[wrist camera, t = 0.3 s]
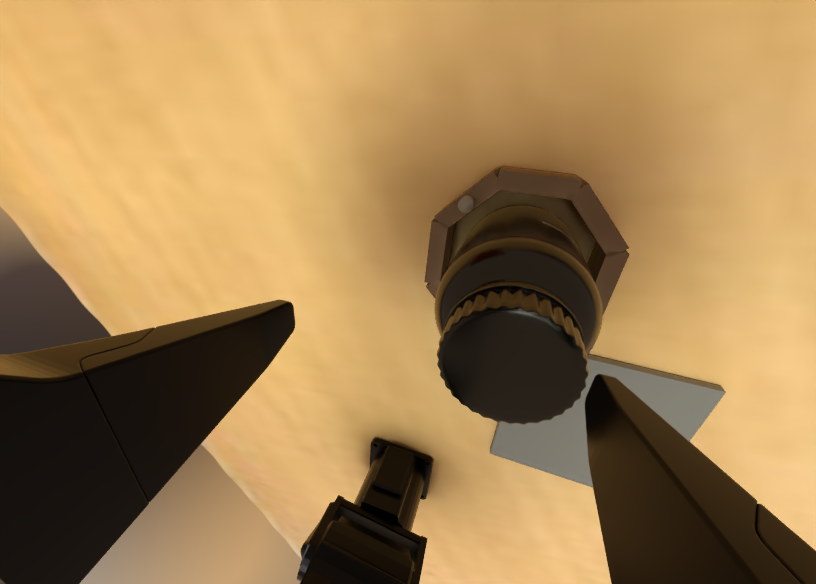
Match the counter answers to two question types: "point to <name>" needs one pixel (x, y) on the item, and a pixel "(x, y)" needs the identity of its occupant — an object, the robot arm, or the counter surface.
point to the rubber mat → (566, 434)
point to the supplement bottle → (517, 317)
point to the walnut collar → (609, 243)
